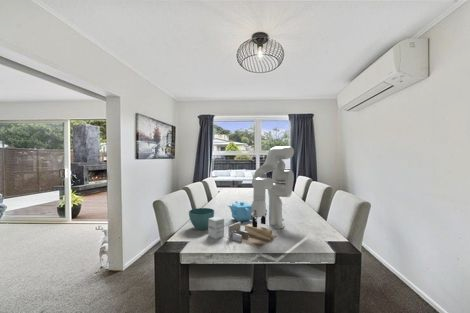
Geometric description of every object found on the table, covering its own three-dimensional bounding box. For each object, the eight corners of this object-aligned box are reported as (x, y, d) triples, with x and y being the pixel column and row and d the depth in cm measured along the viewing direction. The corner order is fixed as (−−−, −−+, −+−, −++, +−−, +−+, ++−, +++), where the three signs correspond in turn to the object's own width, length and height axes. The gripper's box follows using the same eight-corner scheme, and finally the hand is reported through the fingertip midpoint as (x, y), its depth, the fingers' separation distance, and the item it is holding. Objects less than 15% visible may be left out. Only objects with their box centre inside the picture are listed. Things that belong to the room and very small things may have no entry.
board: (247, 231, 155) (247, 228, 155) (277, 238, 140) (277, 236, 140) (226, 240, 138) (226, 238, 138) (258, 250, 123) (258, 247, 123)
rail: (248, 231, 149) (248, 224, 149) (272, 237, 138) (272, 229, 138) (245, 233, 146) (244, 225, 146) (269, 239, 135) (269, 231, 135)
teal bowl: (209, 233, 151) (209, 214, 151) (184, 231, 155) (184, 213, 155) (217, 224, 169) (217, 208, 169) (194, 223, 172) (194, 207, 172)
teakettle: (248, 225, 168) (248, 205, 168) (226, 222, 175) (226, 203, 175) (256, 218, 185) (256, 200, 185) (235, 216, 192) (235, 199, 192)
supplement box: (207, 238, 142) (207, 218, 142) (217, 235, 147) (216, 216, 147) (215, 241, 137) (215, 220, 136) (224, 238, 142) (224, 218, 142)
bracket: (239, 234, 145) (239, 221, 145) (250, 237, 139) (250, 224, 139) (228, 239, 136) (228, 226, 136) (239, 242, 131) (239, 228, 131)
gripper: (261, 196, 150) (261, 221, 150) (246, 199, 137) (246, 227, 136) (271, 197, 146) (271, 223, 145) (256, 200, 132) (256, 229, 132)
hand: (259, 225), depth 141 cm, fingers open, 9 cm apart
